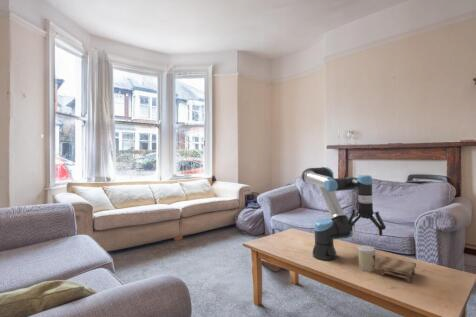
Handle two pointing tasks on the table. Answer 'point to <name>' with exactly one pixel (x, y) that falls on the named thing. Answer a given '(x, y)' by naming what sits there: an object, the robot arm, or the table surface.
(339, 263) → the table surface
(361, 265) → the coffee cup
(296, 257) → the table surface
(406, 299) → the table surface
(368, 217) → the robot arm
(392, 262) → the footstool
